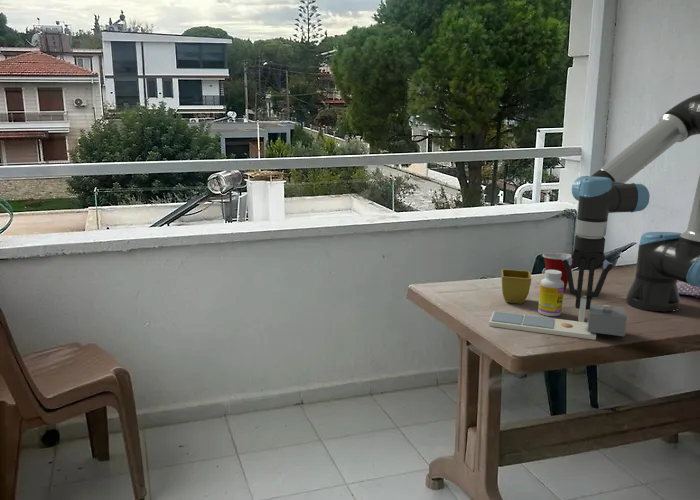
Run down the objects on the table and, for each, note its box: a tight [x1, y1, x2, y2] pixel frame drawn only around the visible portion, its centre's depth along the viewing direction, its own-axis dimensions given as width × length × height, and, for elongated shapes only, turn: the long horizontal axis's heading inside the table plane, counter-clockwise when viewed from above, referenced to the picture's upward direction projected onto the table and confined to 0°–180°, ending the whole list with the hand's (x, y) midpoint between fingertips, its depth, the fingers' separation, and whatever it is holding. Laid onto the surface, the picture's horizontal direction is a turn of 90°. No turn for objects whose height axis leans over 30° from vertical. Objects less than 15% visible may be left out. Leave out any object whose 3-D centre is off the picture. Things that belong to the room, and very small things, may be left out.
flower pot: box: [501, 268, 533, 305], centre depth 201 cm, size 9×9×9 cm
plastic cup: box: [542, 252, 575, 292], centre depth 214 cm, size 11×11×12 cm
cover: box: [587, 303, 627, 337], centre depth 173 cm, size 9×9×6 cm
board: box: [488, 310, 597, 341], centre depth 180 cm, size 28×10×2 cm, turn 71°
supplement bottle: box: [537, 269, 565, 317], centre depth 190 cm, size 7×7×13 cm
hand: (581, 319), depth 176 cm, fingers closed
